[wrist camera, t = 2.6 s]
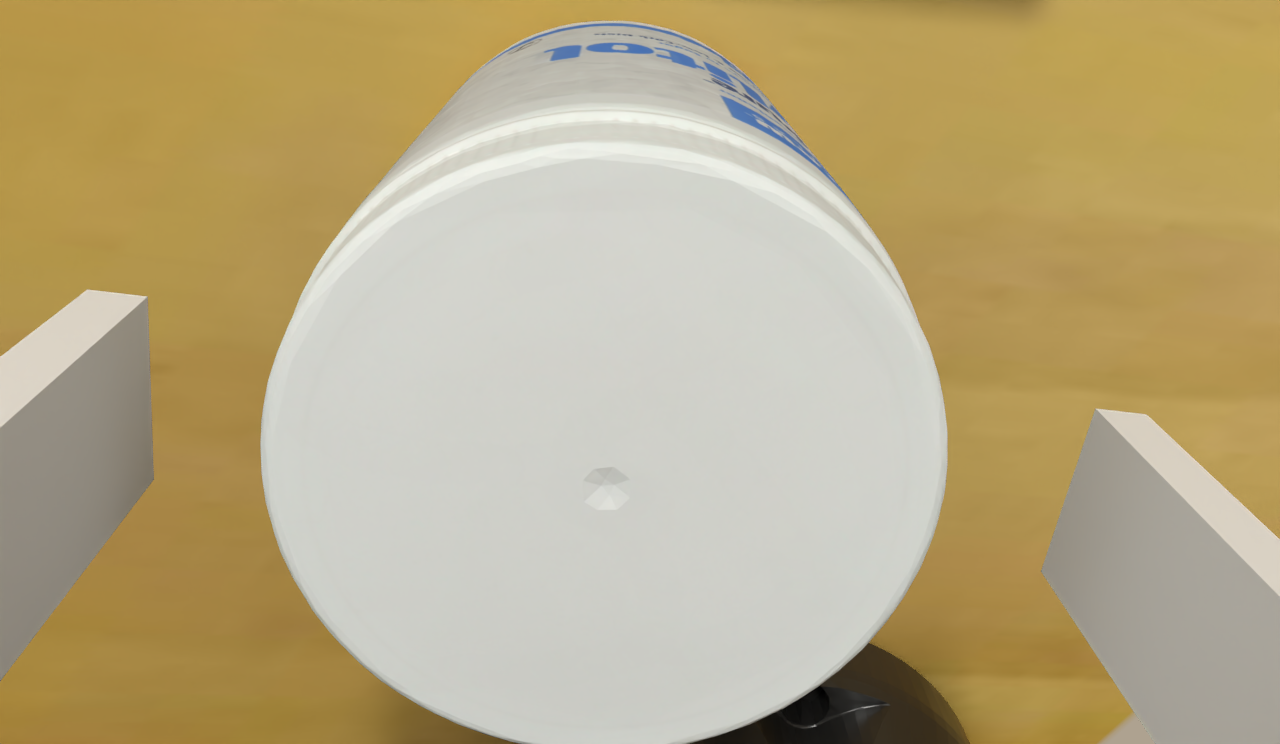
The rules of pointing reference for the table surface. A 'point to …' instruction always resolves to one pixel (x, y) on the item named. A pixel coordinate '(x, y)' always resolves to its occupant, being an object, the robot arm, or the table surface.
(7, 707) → the table surface
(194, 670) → the table surface
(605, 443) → the supplement tub
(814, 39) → the table surface
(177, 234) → the table surface
